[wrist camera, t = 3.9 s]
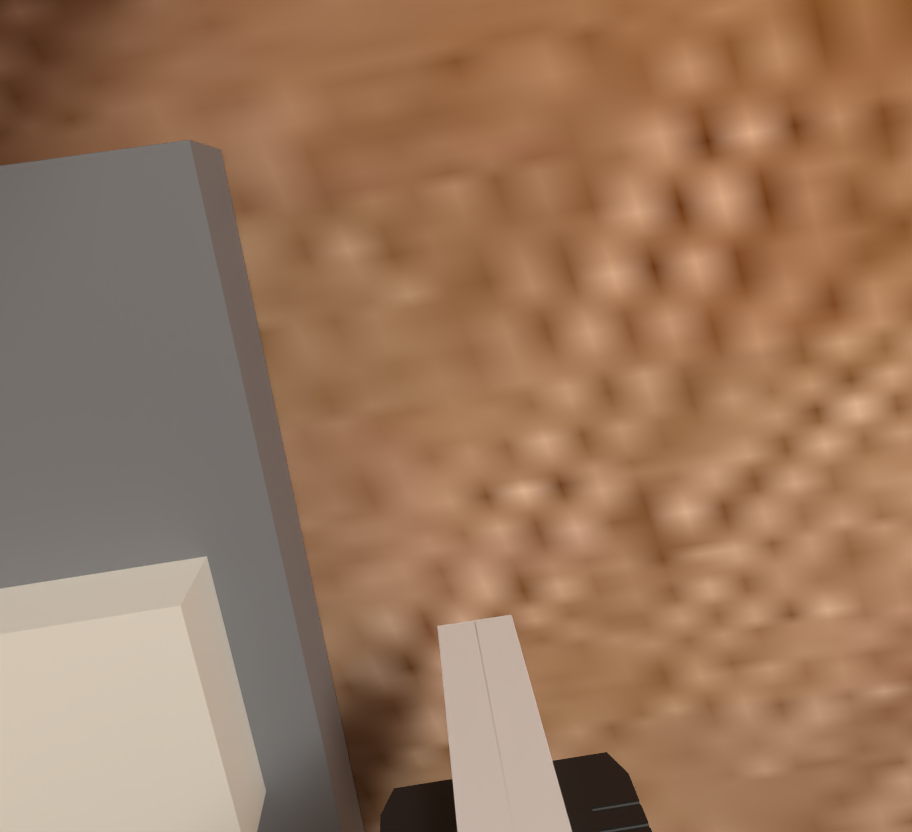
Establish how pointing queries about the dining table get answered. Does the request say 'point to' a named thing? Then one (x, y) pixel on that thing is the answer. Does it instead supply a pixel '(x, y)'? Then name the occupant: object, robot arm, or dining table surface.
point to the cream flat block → (123, 707)
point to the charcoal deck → (162, 433)
